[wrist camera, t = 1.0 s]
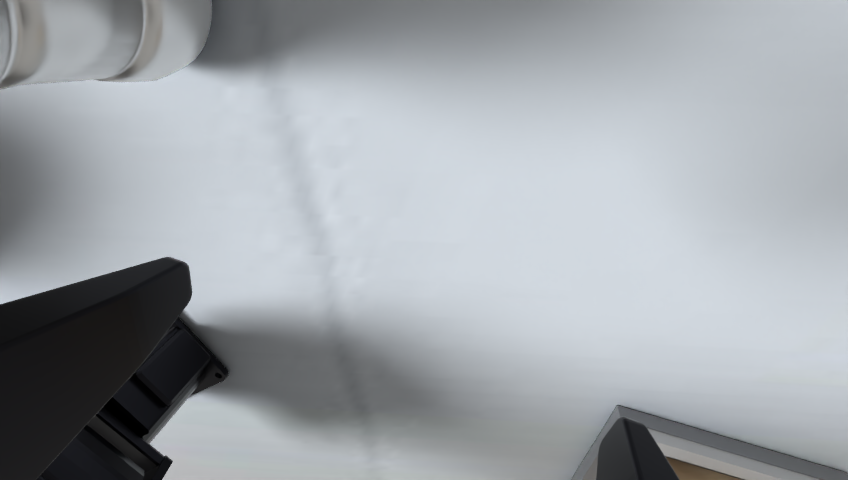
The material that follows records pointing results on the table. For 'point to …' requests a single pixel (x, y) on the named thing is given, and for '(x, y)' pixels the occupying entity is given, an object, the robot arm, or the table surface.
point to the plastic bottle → (99, 39)
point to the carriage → (696, 472)
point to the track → (712, 453)
